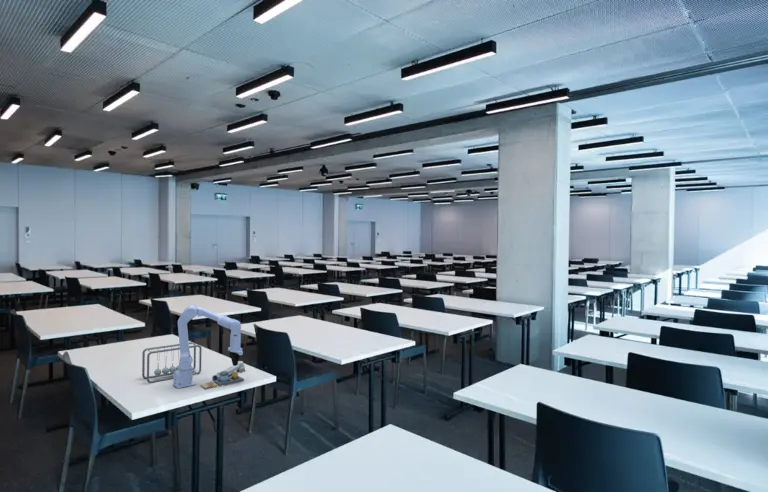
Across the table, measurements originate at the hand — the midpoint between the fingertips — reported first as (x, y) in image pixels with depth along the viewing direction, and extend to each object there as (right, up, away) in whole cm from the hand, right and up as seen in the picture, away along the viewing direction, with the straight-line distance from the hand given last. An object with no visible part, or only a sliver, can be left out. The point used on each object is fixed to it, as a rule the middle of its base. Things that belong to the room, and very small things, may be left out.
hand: (235, 365), depth 257 cm
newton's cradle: (-39, -9, +6) cm, 40 cm away
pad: (-11, -9, -10) cm, 17 cm away
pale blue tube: (-7, -9, +10) cm, 15 cm away
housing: (-3, -9, -2) cm, 10 cm away
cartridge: (-5, -9, -4) cm, 11 cm away
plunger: (0, -7, 0) cm, 7 cm away
